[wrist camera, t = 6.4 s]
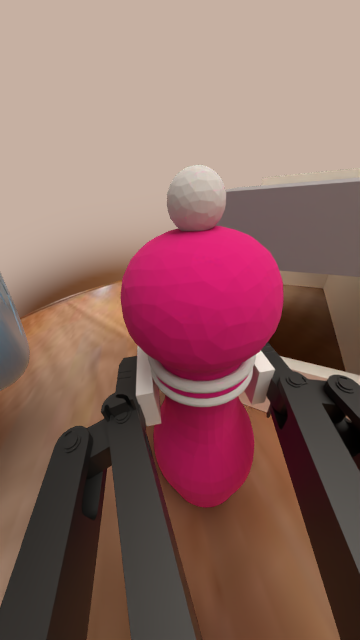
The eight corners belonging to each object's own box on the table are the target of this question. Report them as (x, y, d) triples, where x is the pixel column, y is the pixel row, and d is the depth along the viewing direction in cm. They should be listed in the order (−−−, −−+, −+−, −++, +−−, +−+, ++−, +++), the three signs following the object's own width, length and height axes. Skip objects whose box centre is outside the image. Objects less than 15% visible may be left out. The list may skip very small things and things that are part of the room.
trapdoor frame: (187, 383, 23) (169, 180, 11) (241, 278, 47) (253, 178, 36) (395, 458, 15) (948, 88, 4) (332, 287, 40) (384, 165, 28)
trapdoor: (208, 264, 14) (209, 193, 11) (253, 218, 30) (258, 183, 27) (512, 289, 8) (649, 158, 6) (368, 215, 24) (387, 172, 21)
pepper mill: (190, 405, 21) (172, 179, 9) (258, 446, 17) (361, 151, 6) (144, 471, 16) (-2, 182, 5) (222, 549, 12) (414, 33, 1)
